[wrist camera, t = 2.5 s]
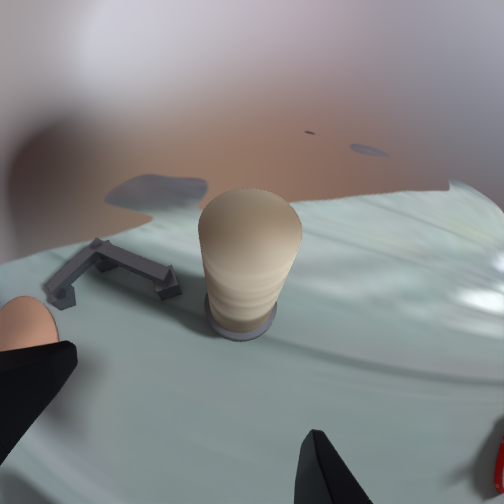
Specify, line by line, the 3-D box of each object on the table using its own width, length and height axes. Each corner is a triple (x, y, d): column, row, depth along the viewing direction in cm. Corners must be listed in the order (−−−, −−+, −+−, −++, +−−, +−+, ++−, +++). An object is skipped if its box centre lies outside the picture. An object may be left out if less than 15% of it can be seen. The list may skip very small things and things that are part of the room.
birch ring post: (281, 331, 23) (332, 255, 12) (221, 356, 22) (214, 300, 11) (255, 278, 26) (276, 173, 15) (198, 298, 24) (176, 200, 13)
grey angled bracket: (181, 293, 24) (175, 278, 21) (63, 332, 21) (46, 322, 18) (162, 234, 27) (156, 214, 25) (57, 271, 24) (43, 256, 21)
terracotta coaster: (69, 390, 18) (66, 389, 18) (0, 402, 15) (-4, 402, 14) (53, 286, 23) (50, 284, 22) (-9, 311, 20) (-12, 309, 19)
